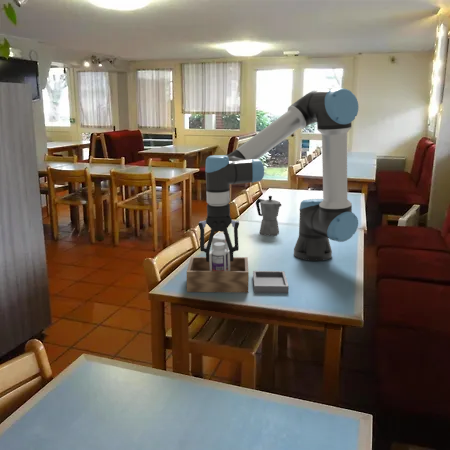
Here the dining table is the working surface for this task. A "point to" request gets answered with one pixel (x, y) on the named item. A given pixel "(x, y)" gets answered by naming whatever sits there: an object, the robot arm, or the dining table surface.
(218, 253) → the pill bottle
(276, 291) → the tray
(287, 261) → the dining table surface
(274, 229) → the coffeepot
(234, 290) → the caddy
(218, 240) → the ink box
